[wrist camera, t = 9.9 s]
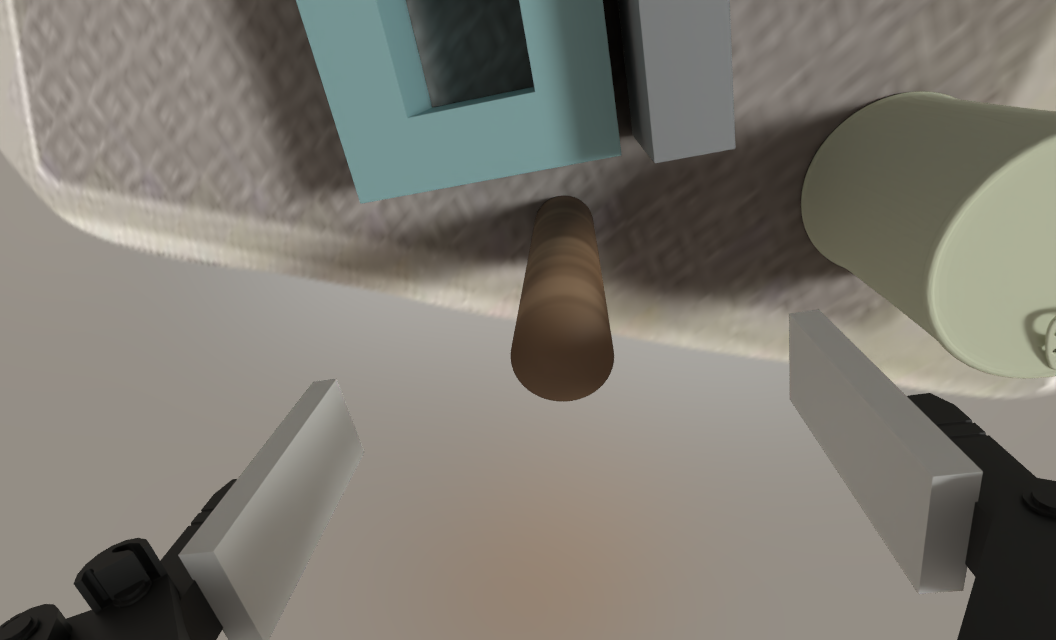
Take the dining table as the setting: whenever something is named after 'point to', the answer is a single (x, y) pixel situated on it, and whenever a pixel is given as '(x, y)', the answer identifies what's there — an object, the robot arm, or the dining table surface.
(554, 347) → the dowel
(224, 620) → the robot arm
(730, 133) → the wall
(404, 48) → the block
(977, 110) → the can
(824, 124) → the dining table surface
